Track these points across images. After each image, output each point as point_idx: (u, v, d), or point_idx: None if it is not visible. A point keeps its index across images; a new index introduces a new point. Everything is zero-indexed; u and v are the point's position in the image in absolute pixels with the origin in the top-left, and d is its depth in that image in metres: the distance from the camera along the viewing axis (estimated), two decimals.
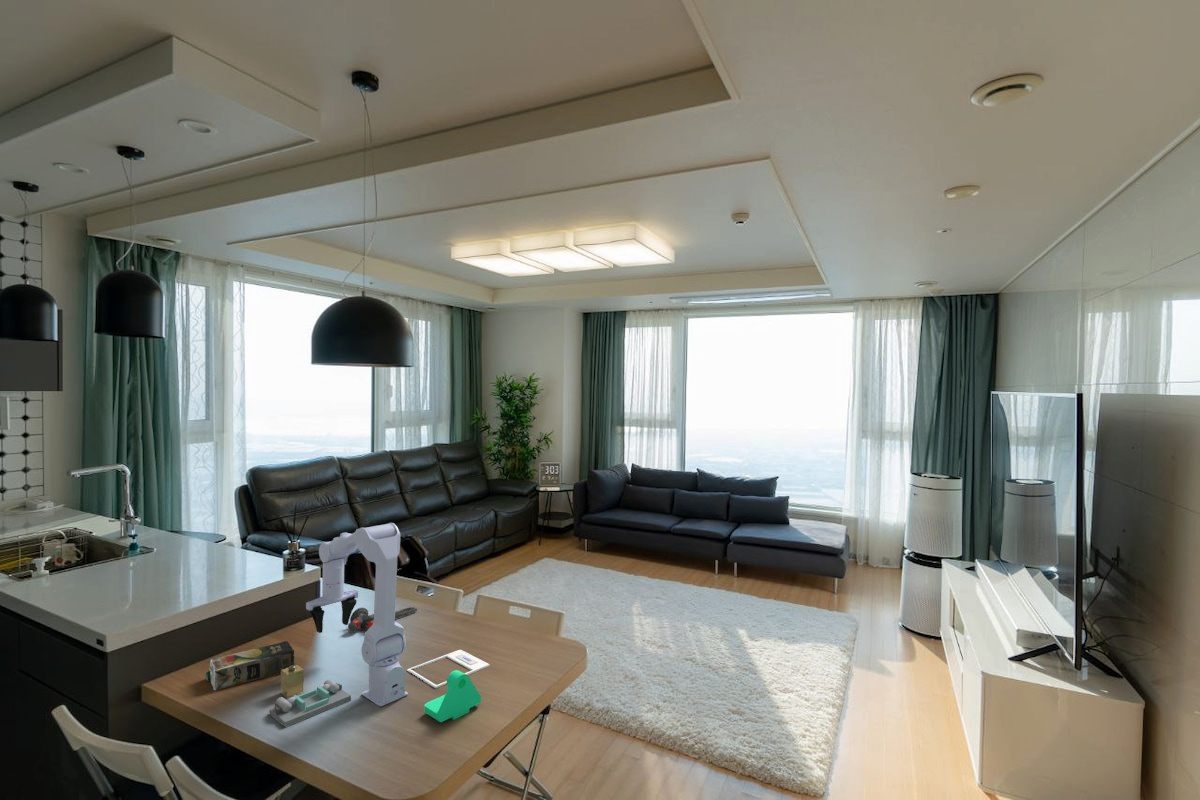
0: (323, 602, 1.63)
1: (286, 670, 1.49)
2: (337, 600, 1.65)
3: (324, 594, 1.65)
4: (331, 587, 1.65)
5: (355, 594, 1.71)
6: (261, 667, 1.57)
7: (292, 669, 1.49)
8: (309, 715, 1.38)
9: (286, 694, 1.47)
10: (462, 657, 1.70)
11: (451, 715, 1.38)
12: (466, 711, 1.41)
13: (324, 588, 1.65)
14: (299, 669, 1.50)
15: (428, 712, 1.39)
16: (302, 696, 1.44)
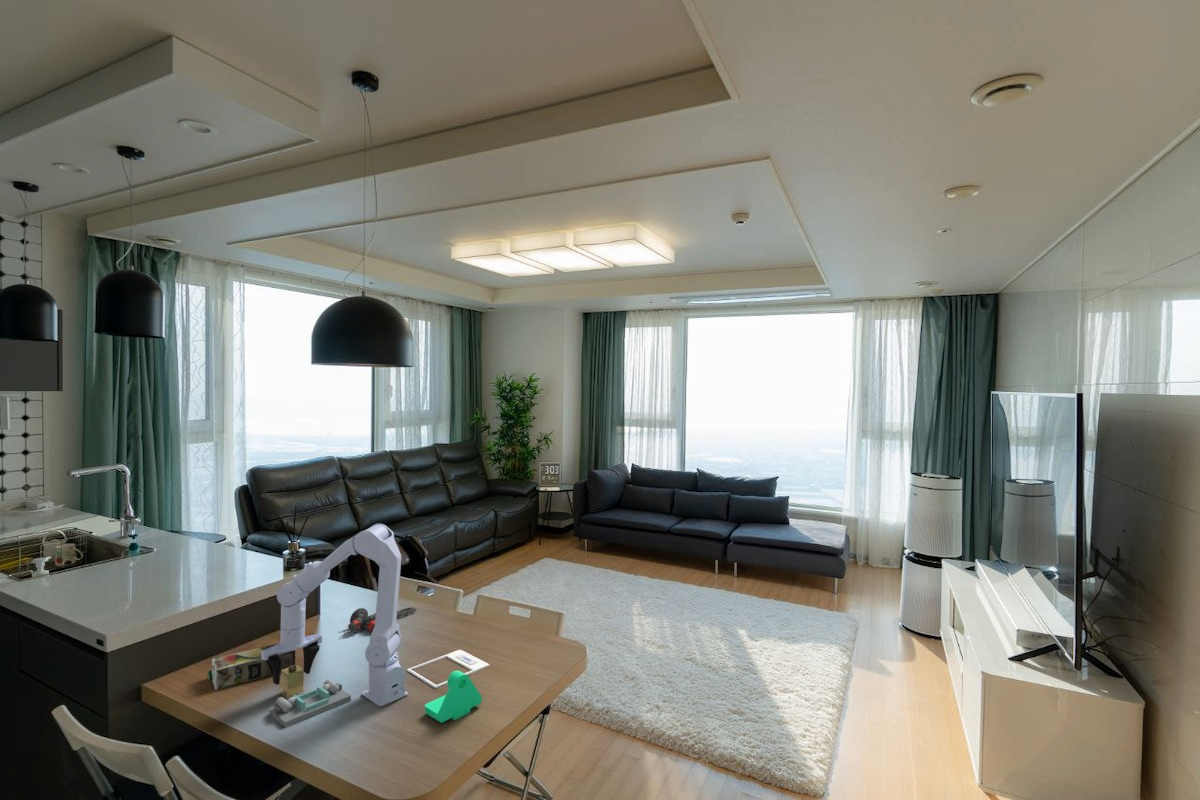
0: (280, 650, 1.46)
1: (286, 670, 1.49)
2: (297, 647, 1.48)
3: (282, 641, 1.47)
4: (290, 633, 1.47)
5: (318, 639, 1.54)
6: (262, 666, 1.57)
7: (292, 669, 1.49)
8: (309, 715, 1.38)
9: (286, 694, 1.47)
10: (462, 657, 1.70)
11: (452, 715, 1.38)
12: (467, 711, 1.41)
13: (282, 634, 1.47)
14: (299, 669, 1.50)
15: (429, 712, 1.39)
16: (302, 696, 1.44)
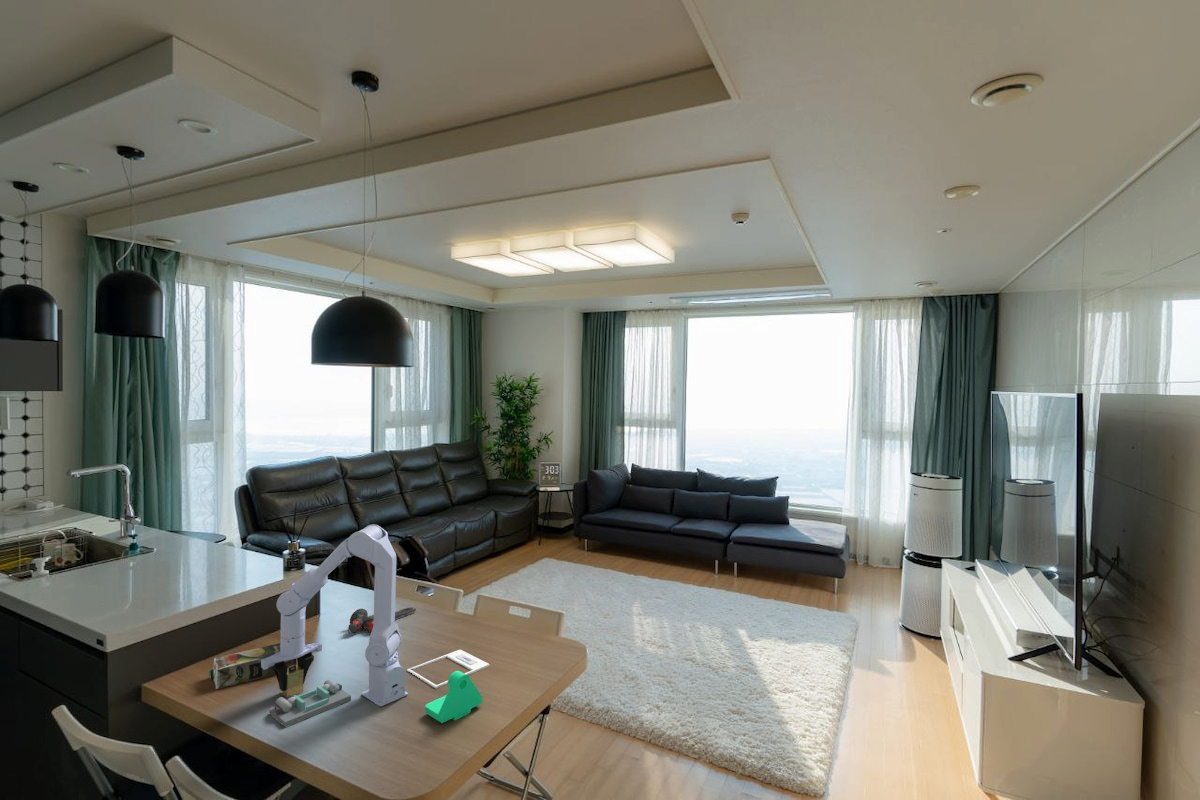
0: (280, 659, 1.46)
1: None
2: (297, 656, 1.48)
3: (282, 650, 1.47)
4: (290, 642, 1.47)
5: (318, 647, 1.54)
6: None
7: (292, 669, 1.49)
8: (309, 715, 1.38)
9: (286, 694, 1.47)
10: (462, 657, 1.70)
11: (452, 716, 1.37)
12: (467, 712, 1.41)
13: (282, 643, 1.47)
14: (299, 669, 1.50)
15: (429, 713, 1.38)
16: (302, 696, 1.44)
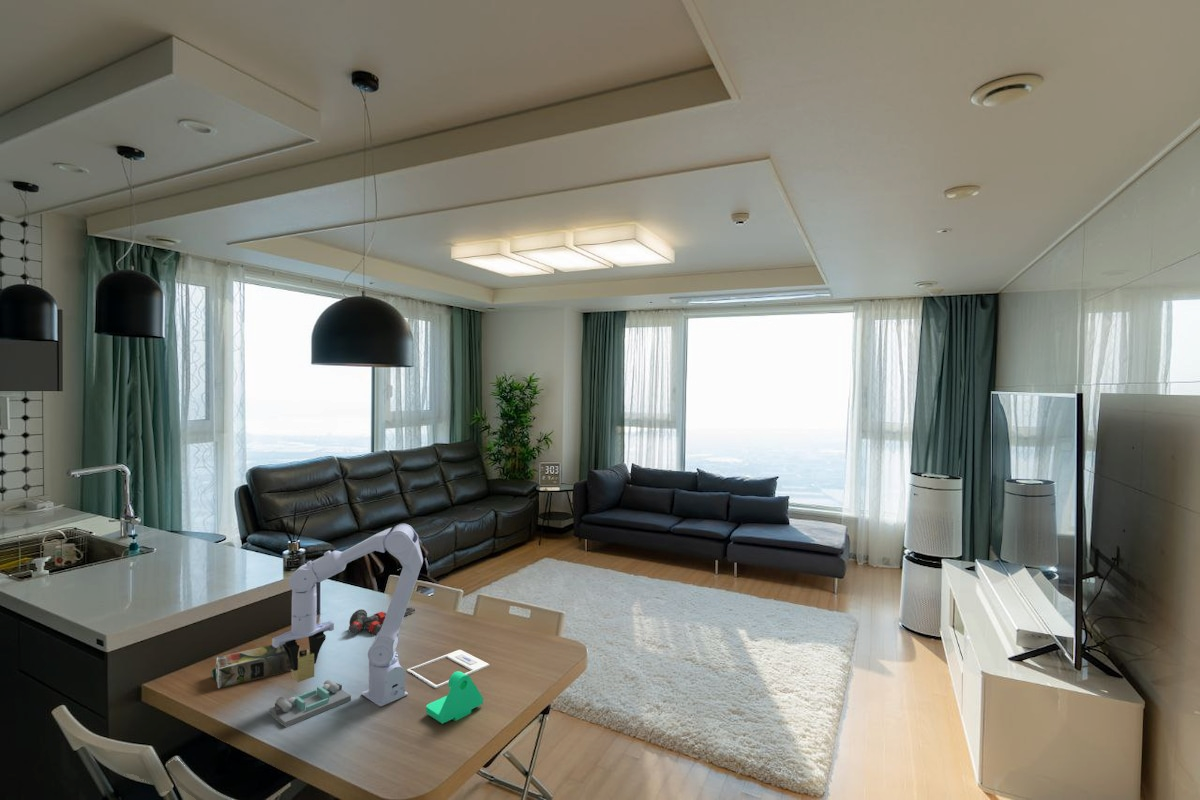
0: (292, 637, 1.42)
1: None
2: (308, 635, 1.44)
3: (293, 628, 1.44)
4: (301, 620, 1.43)
5: (330, 626, 1.50)
6: (265, 666, 1.58)
7: (303, 653, 1.46)
8: (309, 715, 1.38)
9: (297, 678, 1.44)
10: (462, 657, 1.70)
11: (453, 716, 1.37)
12: (468, 712, 1.41)
13: (293, 621, 1.44)
14: (310, 653, 1.47)
15: (430, 713, 1.38)
16: (302, 696, 1.44)
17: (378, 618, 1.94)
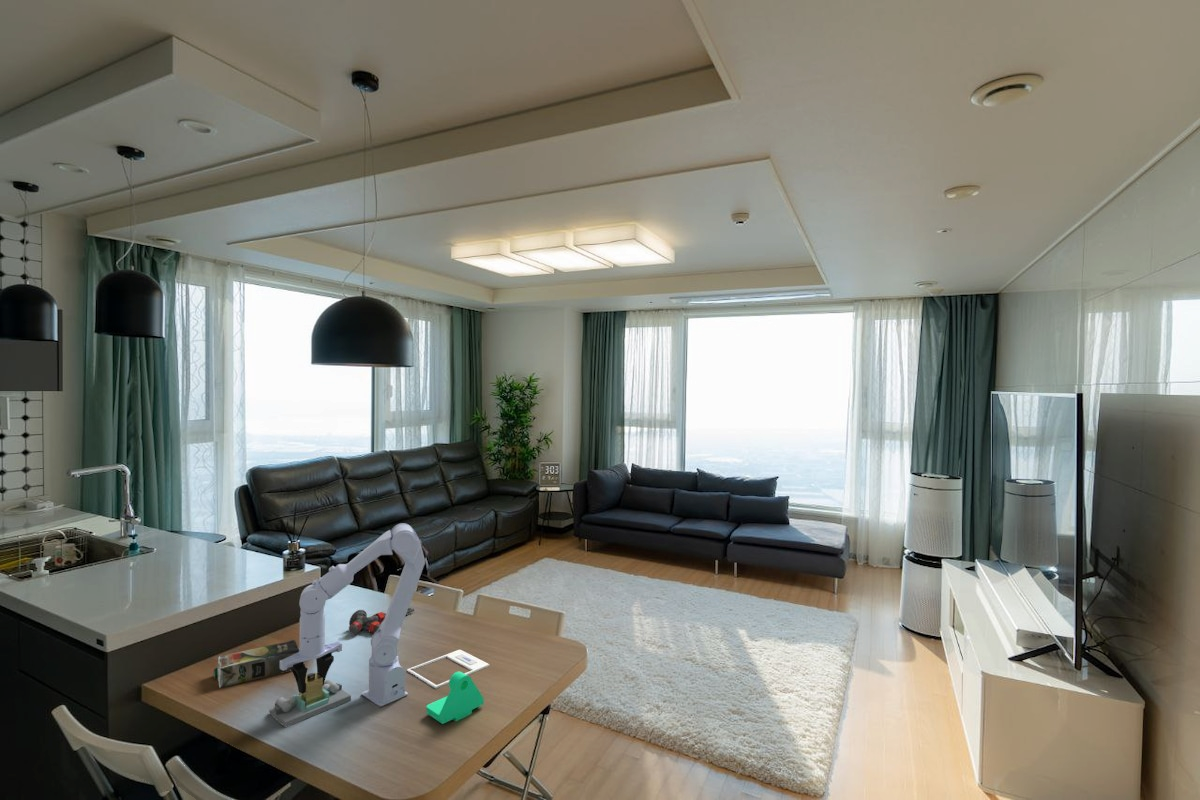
0: (300, 660, 1.39)
1: None
2: (316, 657, 1.41)
3: (301, 650, 1.41)
4: (309, 642, 1.40)
5: (338, 647, 1.47)
6: (266, 665, 1.58)
7: (311, 677, 1.42)
8: (309, 715, 1.38)
9: (305, 704, 1.41)
10: (462, 657, 1.70)
11: (453, 717, 1.37)
12: (468, 713, 1.41)
13: (301, 643, 1.41)
14: (318, 677, 1.43)
15: (430, 713, 1.38)
16: None
17: (378, 618, 1.94)
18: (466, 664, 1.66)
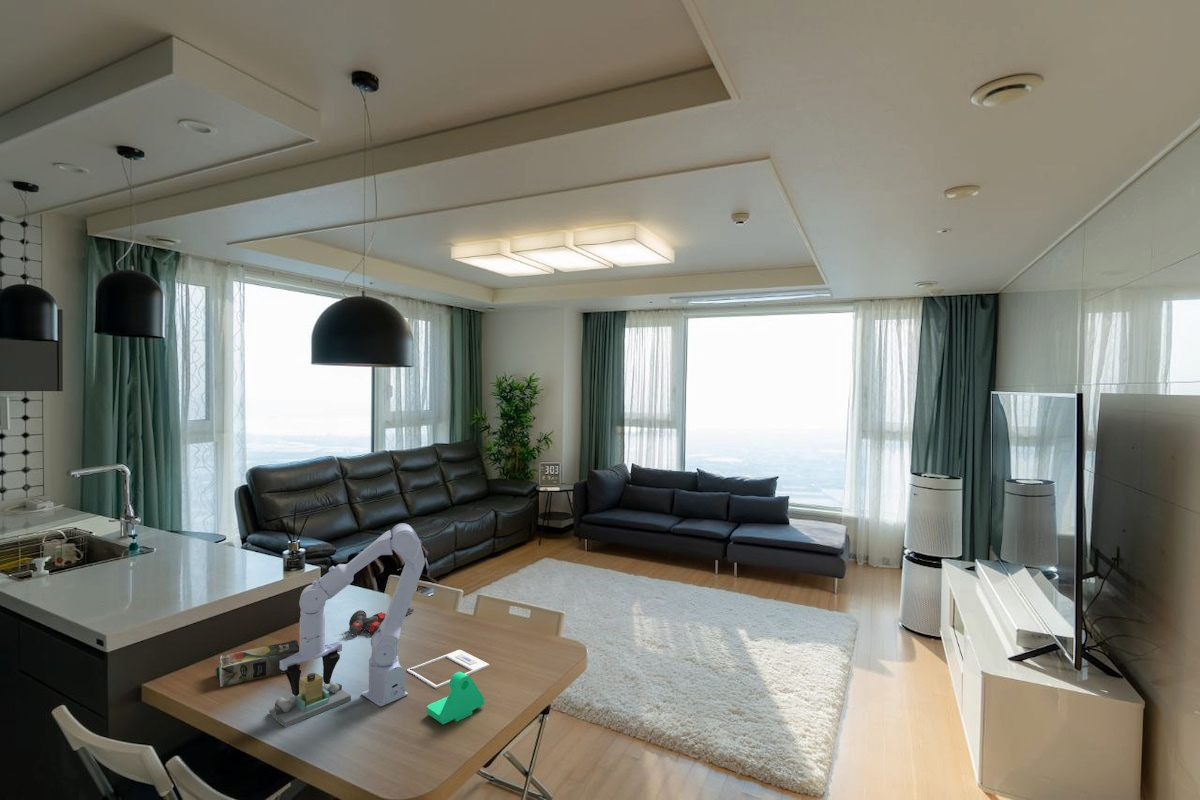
0: (300, 660, 1.39)
1: (304, 678, 1.43)
2: (316, 657, 1.41)
3: (301, 650, 1.41)
4: (309, 642, 1.40)
5: (338, 647, 1.47)
6: (267, 665, 1.58)
7: (311, 677, 1.42)
8: (309, 715, 1.38)
9: (305, 704, 1.41)
10: (462, 657, 1.70)
11: (454, 717, 1.37)
12: (469, 713, 1.40)
13: (301, 643, 1.41)
14: (318, 677, 1.43)
15: (431, 714, 1.38)
16: None
17: (378, 619, 1.93)
18: (466, 664, 1.66)
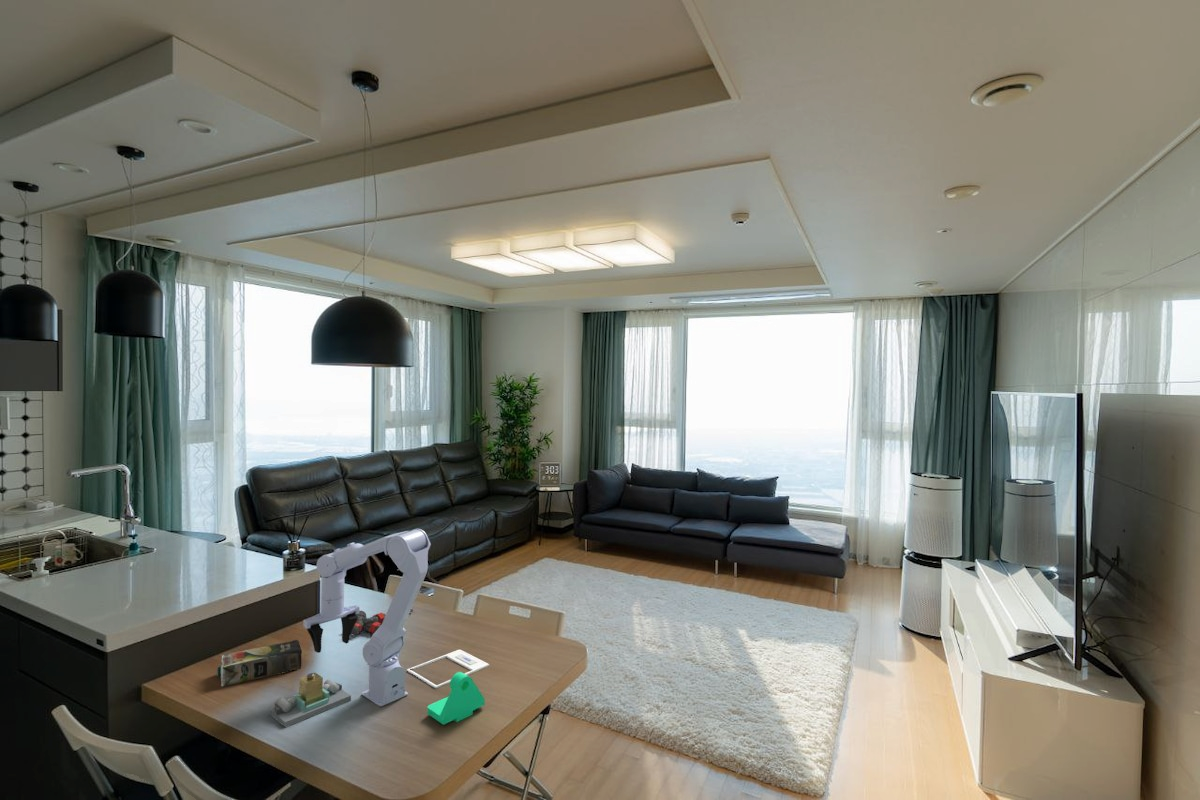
0: (322, 619, 1.51)
1: (304, 678, 1.43)
2: (337, 617, 1.53)
3: (323, 611, 1.52)
4: (330, 603, 1.52)
5: (356, 609, 1.59)
6: (268, 665, 1.58)
7: (311, 677, 1.42)
8: (309, 715, 1.38)
9: (305, 704, 1.41)
10: (462, 657, 1.70)
11: (454, 717, 1.37)
12: (469, 713, 1.40)
13: (323, 604, 1.53)
14: (318, 677, 1.43)
15: (431, 714, 1.38)
16: None
17: (378, 619, 1.93)
18: (466, 664, 1.66)
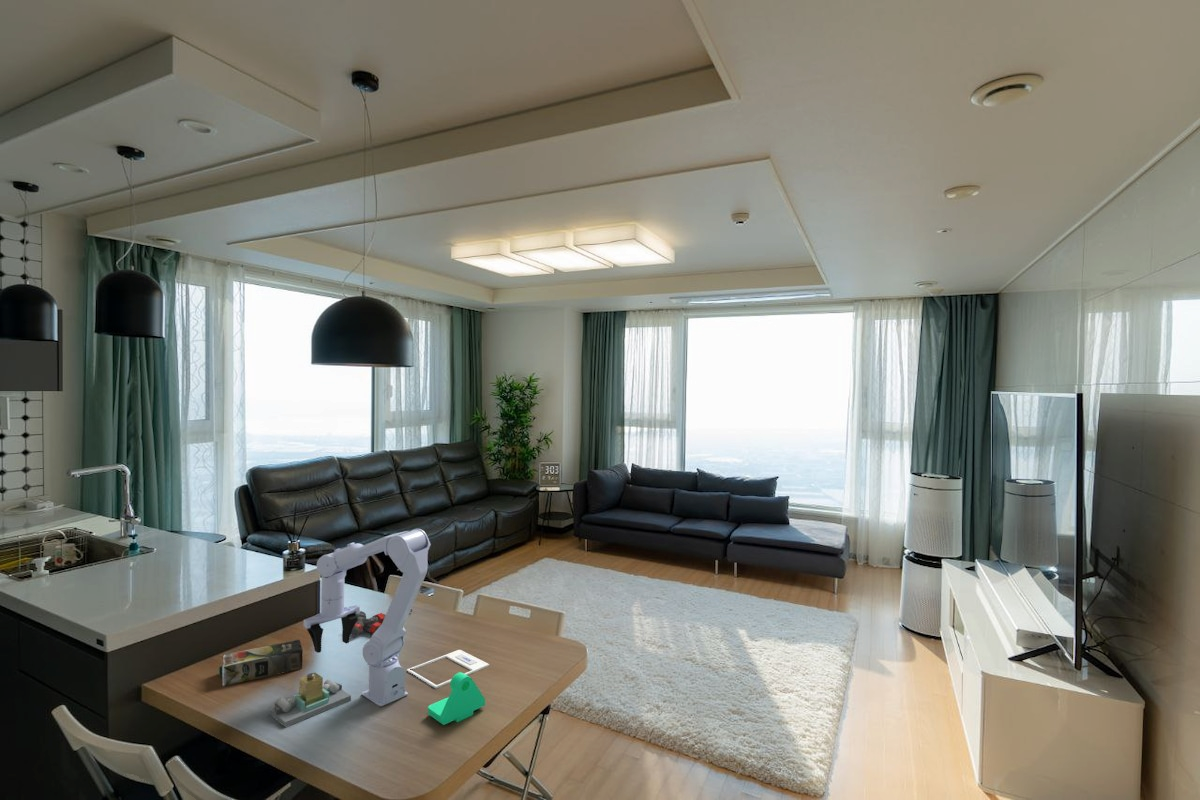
0: (322, 619, 1.51)
1: (304, 678, 1.43)
2: (337, 617, 1.53)
3: (323, 610, 1.53)
4: (330, 603, 1.52)
5: (356, 609, 1.59)
6: (269, 665, 1.58)
7: (311, 677, 1.42)
8: (309, 715, 1.38)
9: (305, 704, 1.41)
10: (461, 657, 1.70)
11: (454, 718, 1.37)
12: (470, 714, 1.40)
13: (323, 604, 1.53)
14: (318, 677, 1.43)
15: (431, 714, 1.38)
16: None
17: (378, 619, 1.93)
18: (466, 664, 1.66)
